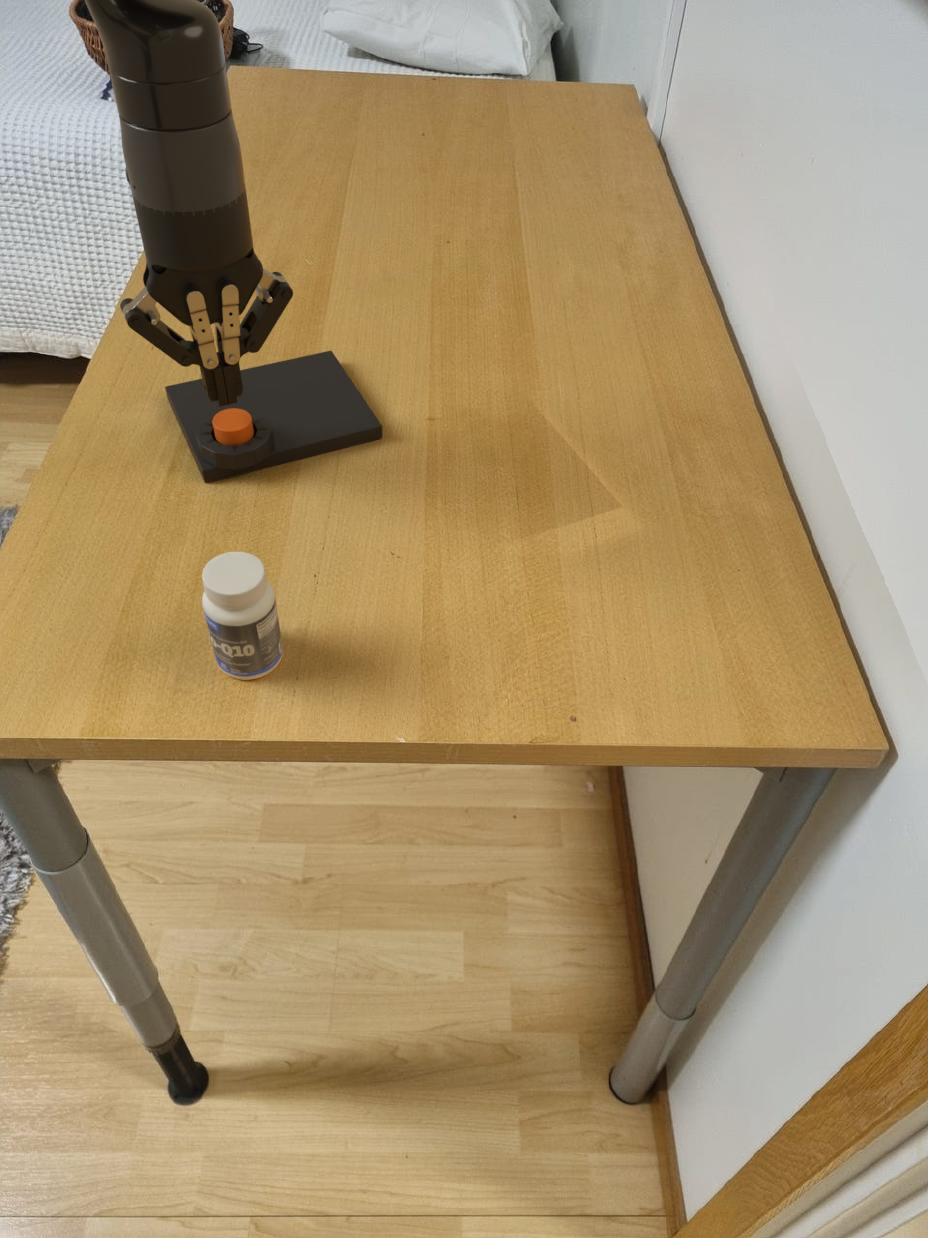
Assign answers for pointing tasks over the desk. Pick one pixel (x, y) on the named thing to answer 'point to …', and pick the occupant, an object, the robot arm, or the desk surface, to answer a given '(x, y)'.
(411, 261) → the desk surface
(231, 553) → the pill bottle
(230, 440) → the button
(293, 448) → the black flat block
